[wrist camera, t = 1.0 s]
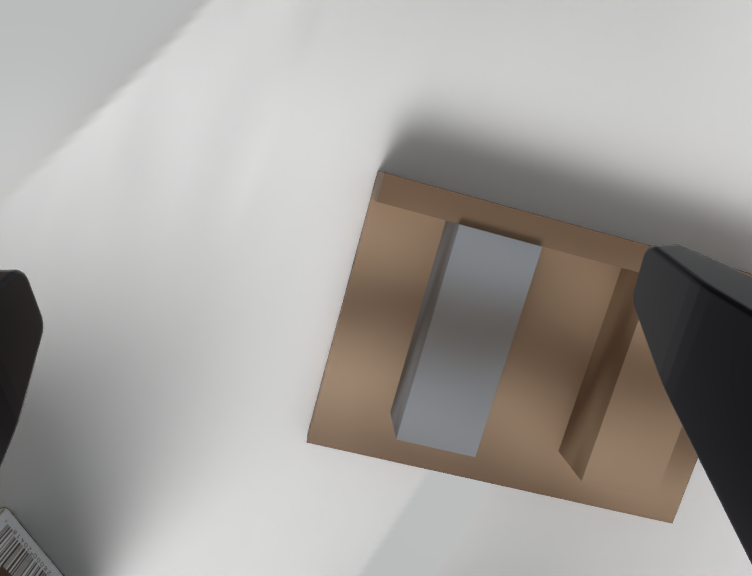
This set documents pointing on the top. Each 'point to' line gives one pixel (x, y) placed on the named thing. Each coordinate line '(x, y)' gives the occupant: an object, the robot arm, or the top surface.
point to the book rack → (500, 355)
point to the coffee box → (21, 551)
